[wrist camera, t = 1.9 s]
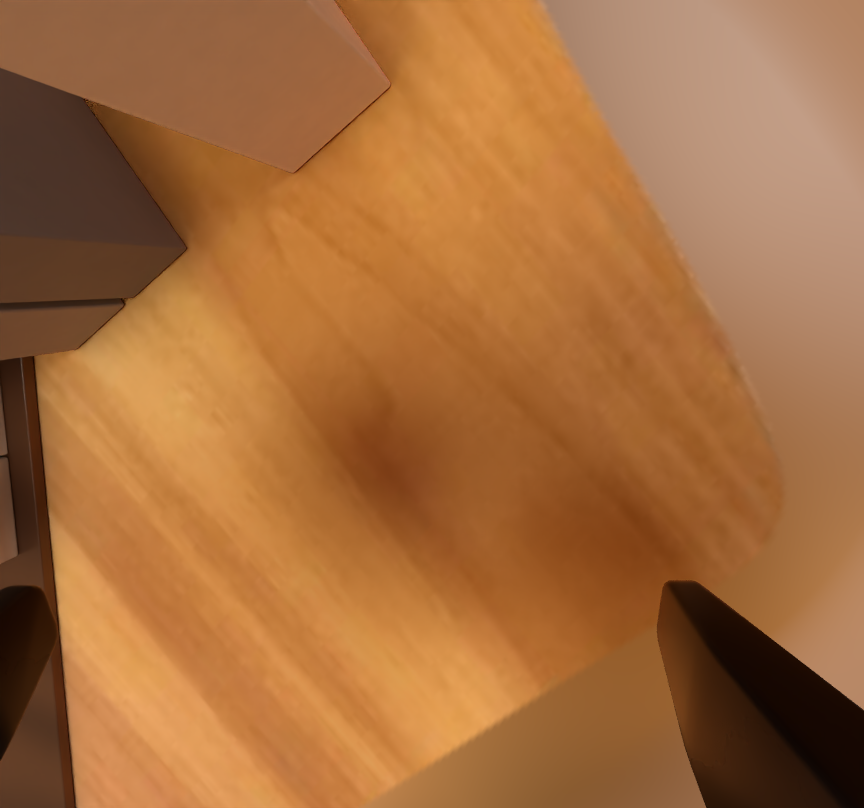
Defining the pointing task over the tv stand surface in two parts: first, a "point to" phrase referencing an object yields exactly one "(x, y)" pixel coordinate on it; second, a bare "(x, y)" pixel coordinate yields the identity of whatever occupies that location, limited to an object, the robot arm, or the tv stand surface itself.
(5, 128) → the grey books
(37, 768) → the brown boxy structure
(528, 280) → the tv stand surface
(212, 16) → the beige rectangular block
